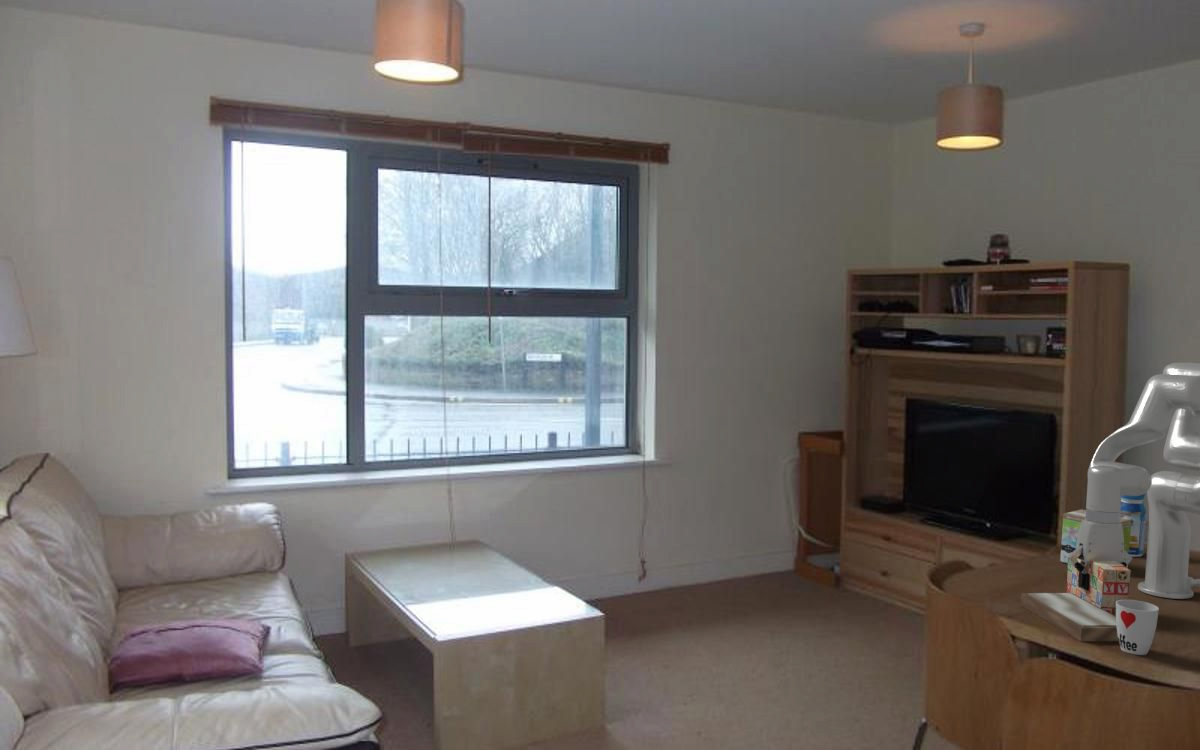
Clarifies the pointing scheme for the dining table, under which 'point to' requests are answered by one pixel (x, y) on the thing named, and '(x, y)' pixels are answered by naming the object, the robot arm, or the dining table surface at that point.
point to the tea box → (1072, 528)
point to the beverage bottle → (1135, 522)
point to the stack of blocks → (1101, 584)
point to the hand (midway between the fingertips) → (1098, 587)
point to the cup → (1135, 625)
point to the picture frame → (1073, 615)
